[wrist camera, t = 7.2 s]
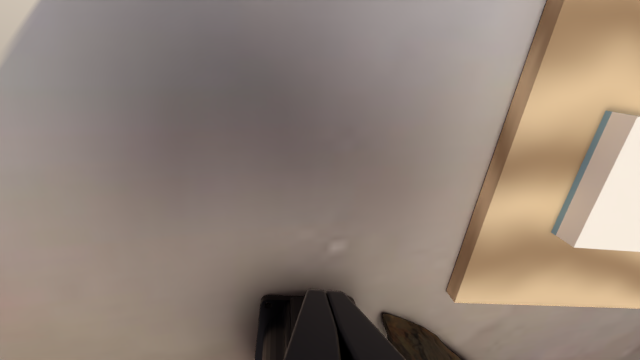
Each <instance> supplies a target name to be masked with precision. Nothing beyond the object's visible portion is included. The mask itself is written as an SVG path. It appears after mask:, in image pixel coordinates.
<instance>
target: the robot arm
mask: <svg viewBox="0 0 640 360" xmlns="http://www.w3.org/2000/svg"><path fill="white" fill-rule="evenodd" d="M268 302H269V303H271V304H266V303H268ZM255 360H406V359H405V358H404V357H403V356H402V355H401V354H400V353H399V352H398V351H397V349H396V348H395V347H394V346H393V345H392V344H391V343H390V342H389V341H388V340H387V339H386V338H385V336H384V335H383V334H382V333H381V332H380V331H379V330H378V329H377V328H376V327H375V326H374V325H373V324H372V322H371V321H370V320H369V319H368V318H367V317H366V316H365V315H364V314H363V313H362V312H361V311H360V309H359V308H358V307H357V306H356V305H355V302H354V300H353V299H351V298H348V297H347V295H346V294H345V293H343V292H342V291H332V290H327V291H326V292H325V291H324V290H318V289H308V290H307V292H306V295H305V296H274V295H268V296H264V297H263V298H262V299H261V304H260V314H259V324H258V334H257V343H256V353H255Z"/></svg>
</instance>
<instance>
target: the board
mask: <svg viewBox="0 0 640 360" xmlns="http://www.w3.org/2000/svg"><path fill="white" fill-rule="evenodd" d="M605 111H612V112H619V113H625V114H632V115H639V116H640V0H547V2H546V5H545V8H544V11H543V13H542V16H541V19H540V22H539V25H538V28H537V31H536V34H535V37H534V39H533V42H532V45H531V48H530V51H529V54H528V57H527V60H526V63H525V65H524V68H523V71H522V74H521V77H520V80H519V83H518V86H517V88H516V91H515V94H514V97H513V100H512V103H511V106H510V109H509V112H508V114H507V117H506V120H505V123H504V126H503V129H502V132H501V135H500V137H499V140H498V143H497V146H496V149H495V152H494V155H493V158H492V161H491V163H490V166H489V169H488V172H487V175H486V178H485V181H484V184H483V187H482V189H481V192H480V195H479V198H478V201H477V204H476V207H475V210H474V212H473V215H472V218H471V221H470V224H469V227H468V230H467V233H466V236H465V238H464V241H463V244H462V247H461V250H460V253H459V256H458V259H457V261H456V264H455V267H454V270H453V273H452V276H451V279H450V282H449V285H448V287H447V290H446V291H447V293H448V294H449V295H450V297H451V298H452V300H453V301H454V303H482V304H514V305H545V306H577V307H608V308H640V252H633V251H618V250H603V249H588V248H574V247H572V246H571V245H569V244H568V243H566V242H565V241H563V240H562V239H560V238H559V237H557V236H556V235H554V234H553V233H551V231H552V229H553V227H554V224H555V222H556V220H557V218H558V215H559V213H560V211H561V209H562V207H563V204H564V202H565V200H566V198H567V195H568V193H569V191H570V189H571V187H572V184H573V182H574V180H575V178H576V175H577V173H578V171H579V169H580V167H581V164H582V162H583V160H584V158H585V155H586V153H587V151H588V149H589V147H590V144H591V142H592V140H593V138H594V135H595V133H596V131H597V129H598V127H599V124H600V122H601V120H602V118H603V115H604V113H605Z"/></svg>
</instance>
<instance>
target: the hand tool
mask: <svg viewBox="0 0 640 360" xmlns="http://www.w3.org/2000/svg"><path fill="white" fill-rule="evenodd" d="M382 318H383V323H384V327H385V330H386V332H387V338H388V341H389V342H390V343H391V344H392V345H393V346H394V347H395V348H396V349H397V351H398V352H399V353H400V354H401V355H402V356H403V357H404V358H405V359H406V360H461V359H460V358H459V357H458V356H457V355H455V354H454V353H453V352H451V351H450V350H449V349H448V348H447V347H446V346H445V345H444V344H443V343H442V342H441V341H440V340H439V338H438V337H437V336H436V335H434V334H433V333H431V332H430V331H428V330H427V329H425V328H423V327H421V326H419V325H417V324H414V323H412V322H410V321H407V320H405V319H402V318H399V317H396V316H392V315H389V314H383V317H382Z"/></svg>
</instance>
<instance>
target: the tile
mask: <svg viewBox="0 0 640 360" xmlns="http://www.w3.org/2000/svg"><path fill="white" fill-rule="evenodd" d="M551 233H553V234H554V235H556V236H557V237H559V238H560V239H562V240H563V241H565V242H566V243H568V244H569V245H571V246H572V247H574V248H588V249H603V250H618V251H633V252H640V116H639V115H632V114H625V113H619V112H612V111H605V113H604V115H603V118H602V120H601V122H600V124H599V127H598V129H597V131H596V133H595V135H594V138H593V140H592V142H591V144H590V147H589V149H588V151H587V153H586V155H585V158H584V160H583V162H582V164H581V167H580V169H579V171H578V173H577V175H576V178H575V180H574V182H573V184H572V187H571V189H570V191H569V193H568V195H567V198H566V200H565V202H564V204H563V207H562V209H561V211H560V213H559V215H558V218H557V220H556V222H555V224H554V227H553V229H552V231H551Z"/></svg>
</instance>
